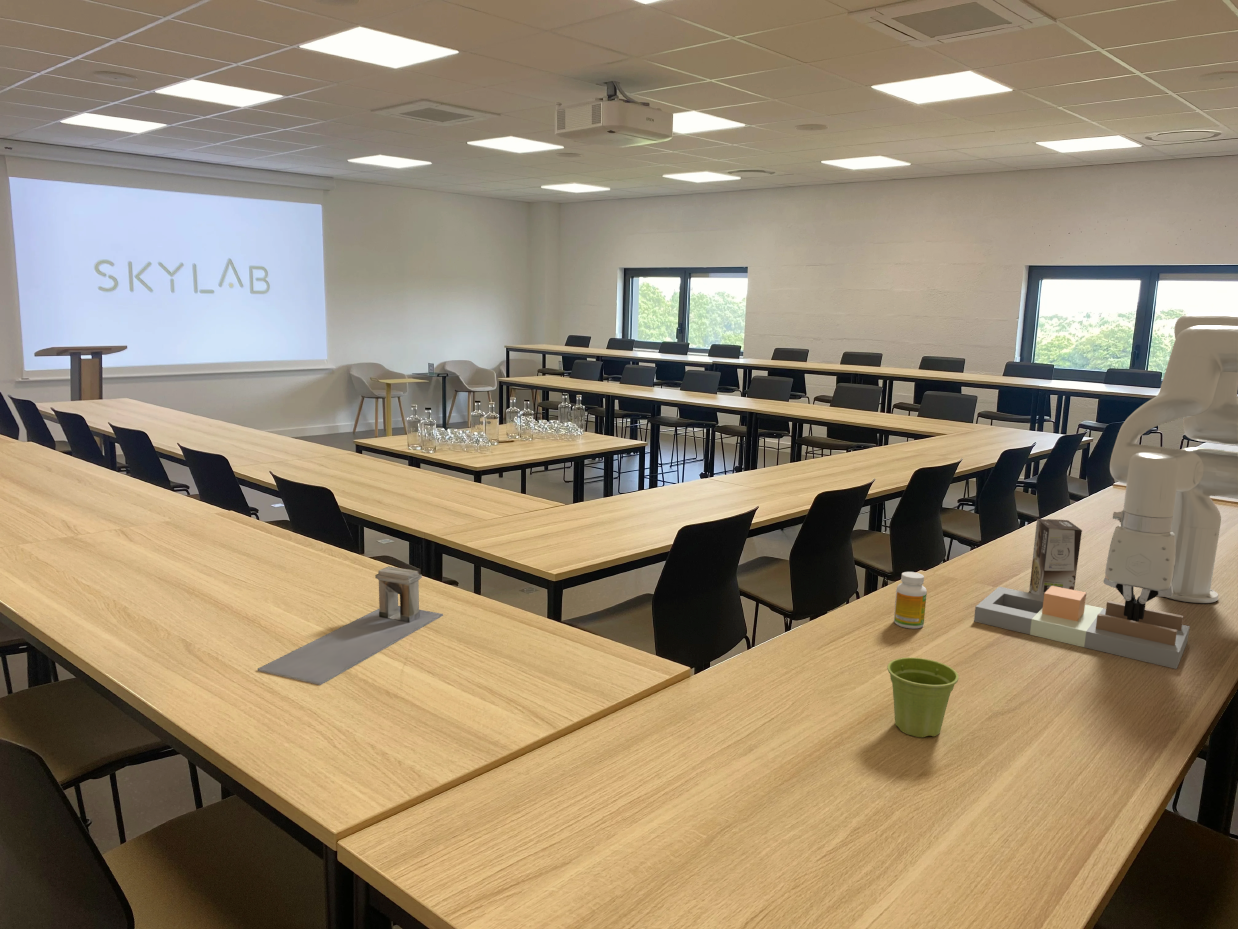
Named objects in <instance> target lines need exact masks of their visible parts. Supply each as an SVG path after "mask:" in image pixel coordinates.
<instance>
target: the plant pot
mask: <svg viewBox="0 0 1238 929" xmlns="http://www.w3.org/2000/svg"><path fill="white" fill-rule="evenodd" d="M886 670H887V672H888V673H889V676H890V681H891V683H892V684H891V685H892V696H893V697H892V698H893V711H894V712H893V713H894V723H895V727H898V729H899V730H900V731H901V732H903V733H904V734H906V735H909V736H912V737H916V738H925V737H928V736H932V737H936V736H938V735H939V734H940V733H941V730H942V726H943V724H944V723H943V722H944V718H945V715H946V711H947V710H946V709H947V706H948V703H949V699H950V695H951V692H952V691H953V690H954V687H955V685H956V684H957V683H958V681H959V678H960V677H959V673H958V672H957V671H956V670H955V669H954V668H953V667H951V666H949V665H948V664H945V663H942V662H940V661H937V660H932V659H930V658H929V659H928V658H922V657H910V656H909V657H901V658H896V659H893V660H891V661H889V663H888V664H887V667H886Z"/></svg>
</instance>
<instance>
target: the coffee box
mask: <svg viewBox="0 0 1238 929" xmlns="http://www.w3.org/2000/svg"><path fill="white" fill-rule="evenodd" d="M1082 533H1083V529H1081V528H1080V527H1078V526H1076V524H1074V523H1073V522H1072V521H1070V520H1067V519H1055V518H1054V519H1052V518H1049V519H1047V518H1037V519H1036V527H1035V535H1034V543H1033V554H1032V562H1031V574H1030V579H1029V580H1030V581H1029V590H1028V591H1029V593H1032V594H1037V595H1042V596H1044V593H1045V592H1046V591H1047V590H1048V589H1049V588H1050V587H1051V586H1056V587H1061V588H1066V589H1071V590H1075V586H1076V578H1077V571H1078V563H1079V555H1080V548H1081V547H1080V546H1081V540H1082Z"/></svg>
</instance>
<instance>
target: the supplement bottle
mask: <svg viewBox="0 0 1238 929" xmlns="http://www.w3.org/2000/svg"><path fill="white" fill-rule="evenodd" d="M900 581H901V583H899V584H898V585H897V586H896V591H895V602H894V614H893V615H894V616H893V622H894V624H896V625H897V626H899V627H901V628H905V629H913V630H915V629H921V628H923V627H924V624H925V614H926V602H927V591H928V590H927V588H926V587H925V586H924V585H923V584H924V582H925V576H924V574H922V573H919V572H914V571H904V572H902V573H901V578H900Z"/></svg>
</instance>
